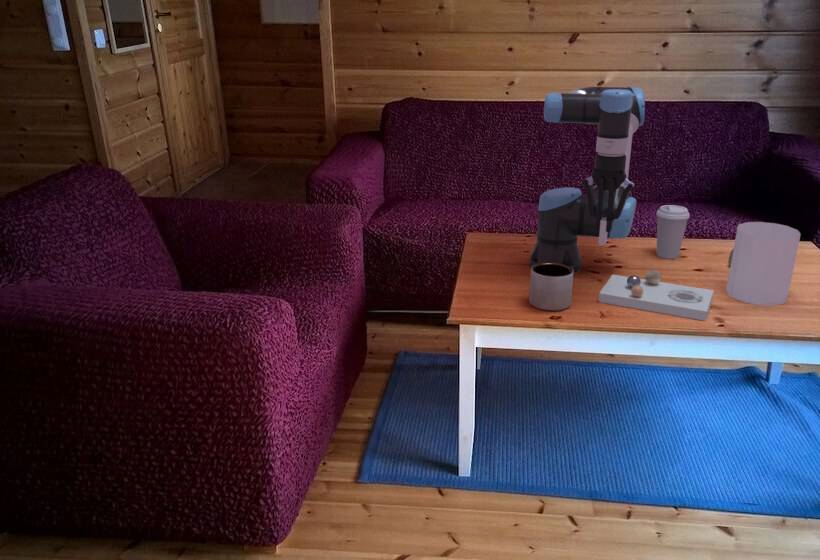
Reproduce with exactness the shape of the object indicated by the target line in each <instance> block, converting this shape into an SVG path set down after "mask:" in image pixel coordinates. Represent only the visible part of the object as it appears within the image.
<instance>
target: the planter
mask: <svg viewBox="0 0 820 560" xmlns="http://www.w3.org/2000/svg"><path fill="white" fill-rule="evenodd" d="M573 273H574V271H573V269H572V268H571V267H570V266H567V265H565V264H561V263H552V262H546V263H539V264H536V265H534V266H532V267H531V268H530V278H529V279H530V280H529V281H530V282H529V294H528V295H529V296H528V300H529V304H530V305H532V306H533V307H534V308H536V309H538V310H541V309H542V311H546V310H547V311H548V312H558V311H563V310H565V309H568V308H569V307H570V306H571V305H572V301H573V300H572V299H573V286H574V274H575V273H574V274H573Z"/></svg>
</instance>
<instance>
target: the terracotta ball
mask: <svg viewBox="0 0 820 560" xmlns="http://www.w3.org/2000/svg"><path fill="white" fill-rule="evenodd" d="M631 293H632V295H633V296H635V297H640V296H641V295H642V294H643V288H642V287H641V286H639V285H635V286H633V287H632V289H631Z"/></svg>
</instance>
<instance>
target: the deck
mask: <svg viewBox="0 0 820 560" xmlns="http://www.w3.org/2000/svg"><path fill="white" fill-rule="evenodd" d="M628 277H629V276H625V275H619V274H618V275H617V274H611V276H610V277H609V279H608V280H607V282H606V283H605V284H604V286H603V287H602V288H601V290H600V291H599V294H598V302H599V303H603V304H608V305H612V306H613V305H614V306H620V307H626V308H629V309H636V310H642V311H647V312H653V313H657V314H659V313H660V314H663V315H670V316H675V317H681V318H687V319H691V320H696V321H697V320H698V321H702V322H703V321H704V322H706V321H707V317H708V315H709V310H710V307H711V305H712V302H713V297H714V292H715V291H714V290H713V289H708V288H707V289H706V288H702V287H701V288H700V287H694V286H689V285H682V284H677V283H675V284H674V283H669V282H662V281H659V282H658V283H657V284H649V283H648V282H647V281H646V279H644V278H640V280H641V283H640V285H639V286H641V287H642V288H643V294H642V295H641V296H640V297H635V296H633V295H632V293H631V289H632V288H630V287H629V286H628V285H627V279H628Z"/></svg>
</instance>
